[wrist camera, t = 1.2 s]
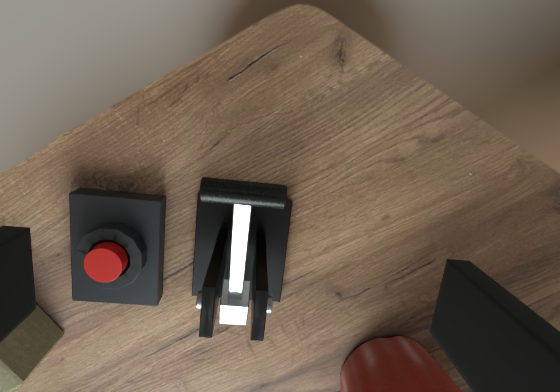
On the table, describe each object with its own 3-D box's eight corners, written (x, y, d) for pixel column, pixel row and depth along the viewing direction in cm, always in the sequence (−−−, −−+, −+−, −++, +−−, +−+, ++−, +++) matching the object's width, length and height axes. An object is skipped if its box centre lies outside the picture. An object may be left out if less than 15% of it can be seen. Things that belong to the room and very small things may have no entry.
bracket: (199, 189, 40) (170, 235, 26) (291, 198, 40) (308, 247, 27) (193, 290, 42) (164, 377, 29) (279, 296, 43) (289, 383, 30)
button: (91, 240, 36) (82, 246, 35) (128, 243, 37) (122, 249, 35) (91, 273, 37) (83, 281, 36) (127, 275, 38) (121, 283, 36)
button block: (79, 187, 39) (59, 197, 35) (166, 195, 39) (156, 206, 36) (81, 290, 42) (63, 309, 38) (162, 295, 42) (152, 315, 39)
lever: (204, 166, 22) (197, 193, 20) (287, 175, 22) (287, 202, 21) (206, 296, 31) (201, 322, 30) (264, 300, 32) (263, 326, 30)
